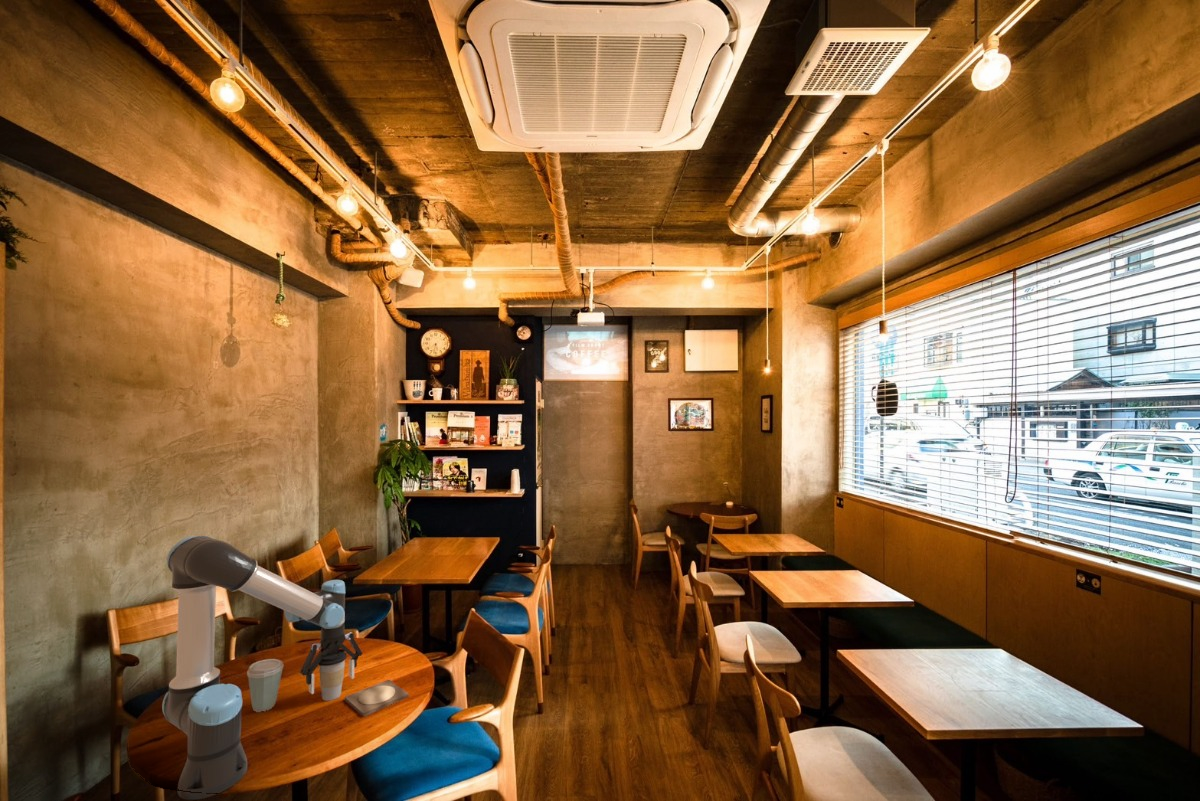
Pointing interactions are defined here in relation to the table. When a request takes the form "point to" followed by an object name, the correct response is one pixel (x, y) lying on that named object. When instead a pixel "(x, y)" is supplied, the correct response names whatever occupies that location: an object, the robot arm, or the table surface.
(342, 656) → the coffee cup
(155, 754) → the table surface
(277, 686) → the disposable coffee cup
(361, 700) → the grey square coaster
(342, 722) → the table surface
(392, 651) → the table surface
